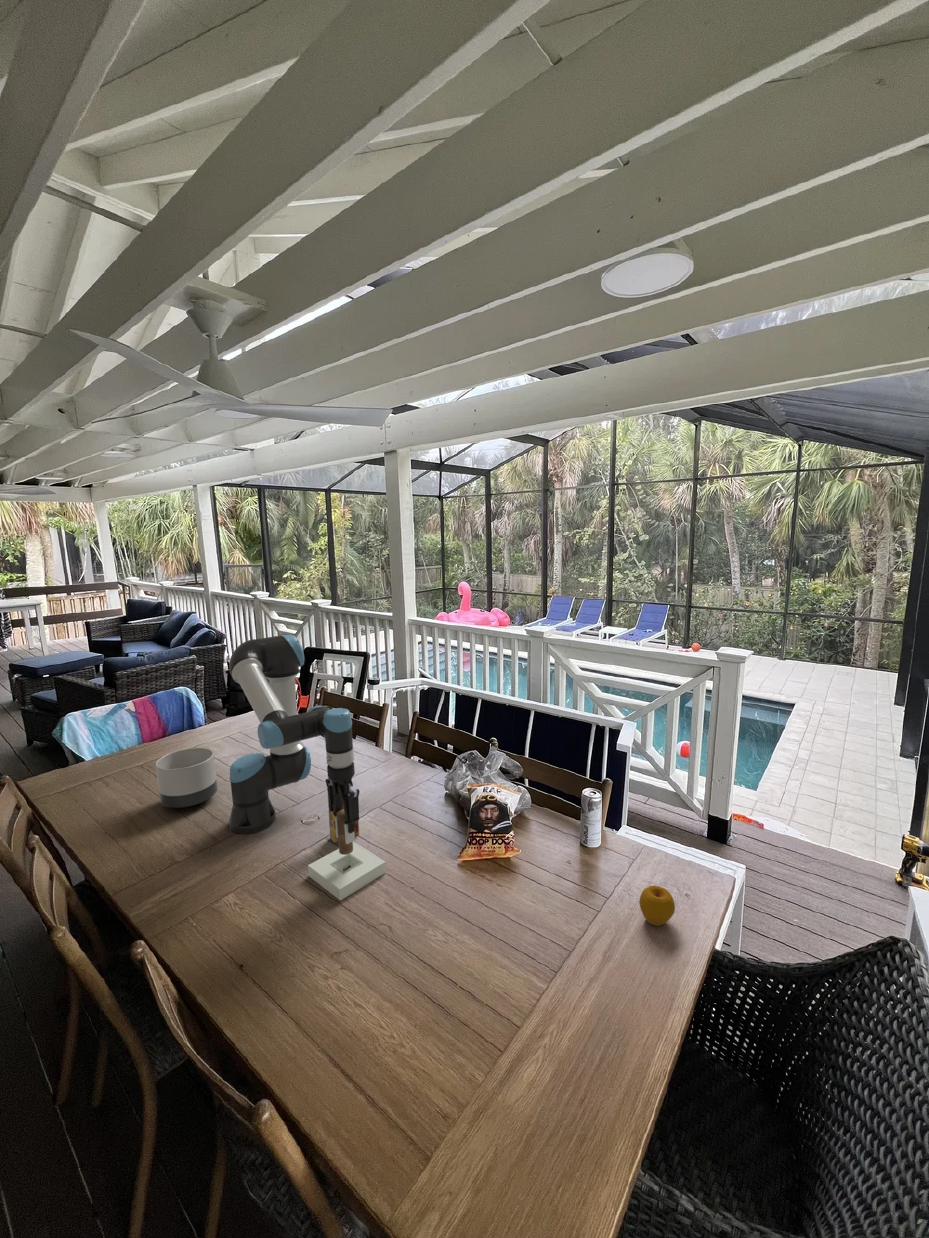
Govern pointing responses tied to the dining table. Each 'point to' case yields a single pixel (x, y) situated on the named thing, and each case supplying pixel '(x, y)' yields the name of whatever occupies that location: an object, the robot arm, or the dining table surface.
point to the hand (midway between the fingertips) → (345, 838)
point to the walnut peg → (343, 834)
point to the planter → (186, 777)
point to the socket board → (351, 880)
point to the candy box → (333, 826)
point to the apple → (656, 905)
